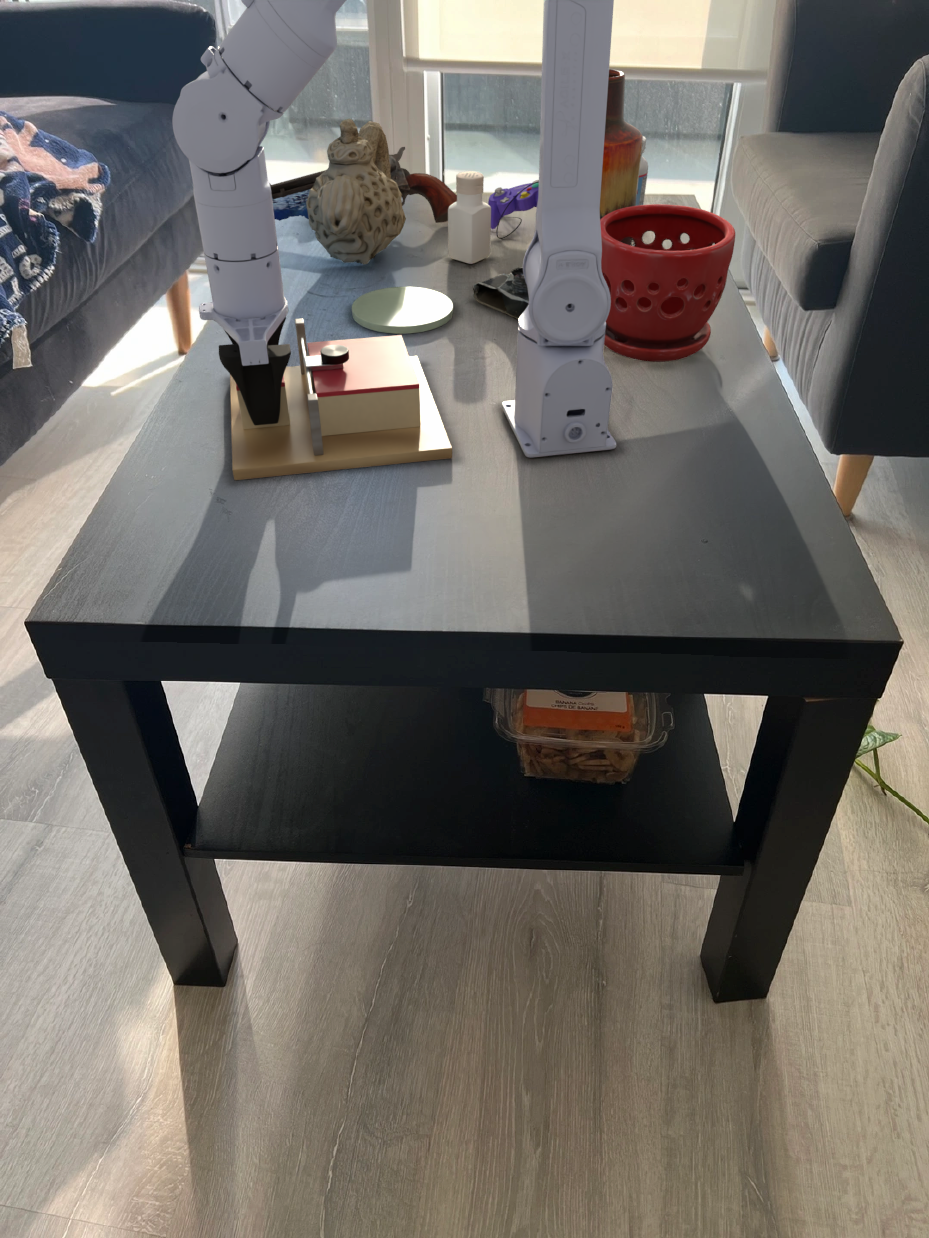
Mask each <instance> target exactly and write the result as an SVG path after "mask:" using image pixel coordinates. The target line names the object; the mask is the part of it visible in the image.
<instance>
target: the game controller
mask: <svg viewBox="0 0 929 1238" xmlns="http://www.w3.org/2000/svg"><path fill="white" fill-rule="evenodd" d="M538 192H539V179H536V180H534V181H532V182H528V183H524V184H520V185H516V186H512V187H510V188H502V187H497V188H495V189H494V192H493V193H492V194H490V195H489V198H488V201H487V204H488V205H489V206H490V207H491V230H494V229H496V232H495V233H496V237H497V239H498V240H502V239H505V238H508V237H509V236H511V235H512V234H513V233H514V232H516V230H517V229H518V228H519V227H520V225H521V224H522V221H523V219H522V218H521V217H516V216H512V217H510V216H509V217H507V216H508V215H511V214H513V213H515V212H527V211H530V210H533V208H537V203H538ZM503 218H505V219H506V218H507V219H510V218H513V219H516V218H517V219H519V220H520V222H519V223H518V225H517V226H516V227H515V228H514V229H513V230H512V231H511V232H510V233H509V234H507V235H504V236H502V237H499V234H498V231H499V225H500V222H501V220H502V219H503Z"/></svg>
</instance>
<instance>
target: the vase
mask: <svg viewBox="0 0 929 1238" xmlns="http://www.w3.org/2000/svg"><path fill="white" fill-rule="evenodd" d="M625 88H626V74H625V73H624V72H623V71H621V70H617V69H612V68H609V78H608V93H607V107H606V122H605V136H604V151H603V165H602V180H601V194H600V219H602V218H603V217H604V216H605V215H607V214H609V213H611V212H613V211H615V210H618V209H622V208H626V207H631V206H635V205H636V196H637V188H638V179H639V171H640V162H641V153H642V144H643V136H644V135H643V134H642V132H641V131H640V129H638V128H637V127H635V126H634V125H632V124H630V123H628V122H627V121H626V120H625V118H624V115H625V114H624V113H625V112H624V110H625V90H626V89H625ZM642 154H643V153H642ZM621 242H622V243H624V244H627V245H630V246H632V239H631V238H629V237H626V238H624V239H623V240H622V241H621Z"/></svg>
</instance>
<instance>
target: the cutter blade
mask: <svg viewBox="0 0 929 1238" xmlns="http://www.w3.org/2000/svg"><path fill="white" fill-rule="evenodd" d="M301 345H302V353H303V362H304V371H305V378H306V384H307V390H308V394H312V388H311V382H310V376H309V372H311V371H323V370H334V369H344V365H343V363H345V362H347V361H348V360H349V350H348V348H347V347H345V346H342V345H329V346H326V347H323V348H322V349H321V351H320V353H321V355H320V356H308V357H306V353H305V347H304V341H303V338H301Z"/></svg>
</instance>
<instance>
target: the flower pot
mask: <svg viewBox="0 0 929 1238" xmlns="http://www.w3.org/2000/svg"><path fill="white" fill-rule="evenodd" d="M600 226H601V240H602V257H601V269H602V274H603V277H604V279H605V281H606V283H607V286H608V288H609V292H610V297H611V306H610V311H609V315H608V317H607V320H606V330H605V340H604V347H605V348H607V349H608V350H609V351H612V352H613V353H615V354H617V355H619V356H622V357H625V358H628V359H631V360H636V361H640V362H650V363H667V362H674V361H678V360H679V361H680V360H682V359H686V358H689V357H690V356H693V355H694V354H697V353H698V352H699V351H701V350H702V349H703V348H705V346H706V345H707V343H708V342H709V340H710V338H711V335H712V334H711V332H712V330H711V325H710V323H709V320H710V319H711V317H712V316H713V314H714V313H715V311H716V310H717V309H716V308H717V307H718V305H719V303H720V300H721V298H722V296H723V293H724V291H725V288H726V284H727V279H728V273H729V268H730V265H731V262H732V259H733V255H734V249H735V242H736V229H735V227H734V226H733V224H732V223H730V222H729V221H728V220H727V219H725V218H724V217H722V216H720V215H718V214H717V213H715V212H712V211H711V212H710V211H709V210H706V209H701V208H697V207H693V206H687V205H677V204H665V203H664V204H661V203H657V204H656V203H655V204H654V203H653V204H643V205H638V206H631V207H626V208H622V209H618V210H615V211H613V212H611V213H609V214H607V215H605V216H604V217H603V218H602V219H600ZM648 232H652V233H654V238H653V240H652V241H651V242H650V243H646V242H644V241H643V237H644V235H645V234H646V233H648ZM682 234H686V235H687V236H688V241H687V242H683V241H682V239H681V238H682V237H681V236H682ZM626 237H629V238H631V240H632V241H633V243H634V245H631V246H630V245H627V244H624V243H622V242H621V241H622V240H623V239H624V238H626ZM666 240H667V241H668V240H669V241H670V243H671V246H670V247H669V248H665V247H664V246H663V243H664V242H665V241H666Z"/></svg>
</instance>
